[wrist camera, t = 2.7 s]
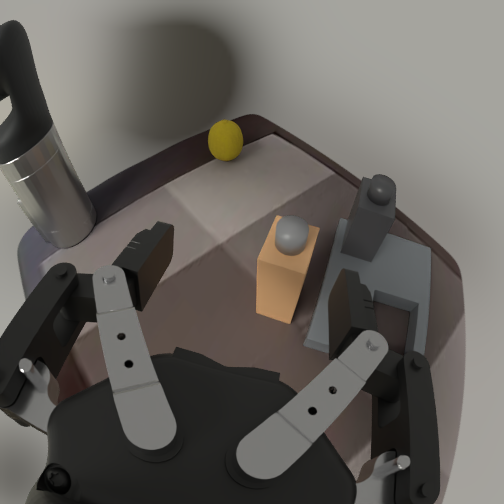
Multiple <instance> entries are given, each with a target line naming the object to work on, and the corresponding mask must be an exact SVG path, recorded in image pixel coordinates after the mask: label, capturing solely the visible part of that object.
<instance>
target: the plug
mask: <svg viewBox="0 0 504 504" xmlns="http://www.w3.org/2000/svg"><path fill="white" fill-rule="evenodd" d="M319 229H320V228H318V227H315V226H311V225H308V224H307V222H306V221H305V220H304V219H302V218H300V217H298V216H294V215H289V216H285V217H281V216H276V218H275V220H274V223H273V225H272V227H271V230H270V232H269V234H268V236H267V239H266V241H265V243H264V245H263V248H262V250H261V252H260V255H259V257H258V259H257V300H256V313H259V314H262V315H264V316H267V317H270V318H273V319H276V320H279V321H282V322H285V323H289V324H290V323H291V320H292V317H293V314H294V311H295V308H296V305H297V302H298V299H299V296H300V293H301V290H302V287H303V284H304V281H305V277H306V274H307V271H308V267H309V264H310V261H311V257H312V254H313V250H314V247H315V243H316V240H317V236H318V232H319Z"/></svg>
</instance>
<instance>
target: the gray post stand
mask: <svg viewBox="0 0 504 504" xmlns="http://www.w3.org/2000/svg"><path fill="white" fill-rule="evenodd" d="M395 203H396V185H395V183H394V181H393V180H392V179H390V178H389V177H387V176H385V175H380V174H379V175H375V176H373V178H372V179H368V178H365V177H363V179H362V181H361V184H360V187H359V190H358V193H357V196H356V199H355V202H354V205H353V208H352V210H351V213H350V216H349V219H348V220H346V219H343V218H340V221H339V223H338V226H337V229H336V233H335V237H334V241H333V245H332V249H331V253H330V257H329V260H328V264H327V268H326V271H325V275H324V278H323V282H322V285H321V289H320V292H319V296H318V299H317V303H316V306H315V309H314V312H313V316H312V319H311V322H310V325H309V328H308V332H307V335H306V338H305V341H304V344H303V346H306V347H309V348H312V349H316V350H319V351H322V352H326V353H329V324H328V299H329V295H330V292H331V290H332V288H333V286H334V284H335V282H336V280H337V277H338V275H339V273H340V271H341V270H342V269H343V268H345V269H349V270H353V271H357V272H358V273H359V277H360V283H361V284H365V285H366V286H367V288H368V289H369V291H370V292H371V296H372V301H376V302H380V303H383V304H386V305H389V306H393V307H396V308H399V309H402V310H406V311H409V312H410V317H409V325H408V332H407V339H406V345H405V351H404V355H405V354H406V353H407V352H409V351H417V352H419V353H421V354H422V355H423V356H424V352H425V345H426V336H427V327H428V315H429V301H430V280H431V248H429V247H426V246H424V245H421V244H418V243H415V242H412V241H409V240H407V239H404V238H401V237H398V236H395V235H392V234H389V233H388V231H389V229H390V227H391V225H392V224H393V222H394V220H395Z"/></svg>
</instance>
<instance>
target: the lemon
mask: <svg viewBox="0 0 504 504" xmlns="http://www.w3.org/2000/svg"><path fill="white" fill-rule="evenodd" d="M208 144H209V149H210V151H211V153H212V154H213V156H214V157H216V158H217V159H219V160H222V161H229V160H233V159H234V158H236V157H237V156H238V155H239V154H240V152H241V150H242V147H243V136H242V132H241V130H240V128H239V126H238V125H237V124H236V123H234V122H232V121H229V120H222V121H219V122H217V123H215V124H214V125H213V126H212V128H211V129H210V132H209V136H208Z"/></svg>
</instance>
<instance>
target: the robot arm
mask: <svg viewBox="0 0 504 504" xmlns="http://www.w3.org/2000/svg"><path fill="white" fill-rule="evenodd" d="M8 96H10V99H11V103H12V111H11V113H10V114H9V116H8V117H7V118H6V120H5V121H4V122H3V123H2V124H1V125H0V169H1V171H2V173H3V174H4V176H5V177H6V179H7V181H8V182H9V184H10V185H11V187H12V188H13V190H14V192H15V193H16V195H17V196H18V198H19V199H18V205H19V206H20V207H21V209H22V210H23V212H24V213H25V215H26V216H27V217H28V219H29V220H30V221H31V223H32V224H33V226H34V227H35V228H36V230H37V231H38V232H39V234H40V235H41V236H42V237H43V239H44V240H45V241H46V242H51V243H52V244H53V245H54V246H55V247H57V248H68V247H71V246H74V245H76V244H77V243H79V242H80V241H82V240H83V239H84V238H85V237H86V236H87V235H88V234H89V233H90V231H91V230H92V228H93V227H94V224H95V222H96V210H95V208H94V206H93V204H92V203H91V201H90V199H89V197H88V195H87V193H86V191H85V189H84V187H83V185H82V183H81V181H80V179H79V177H78V176H77V173H76V171H75V169H74V167H73V165H72V163H71V161H70V159H69V157H68V154H67V152H66V150H65V148H64V146H63V144H62V141H61V139H60V137H59V135H58V132H57V130H56V127H55V125H54V123H53V120H52V118H51V115H50V113H49V110H48V107H47V104H46V100H45V97H44V94H43V91H42V88H41V85H40V82H39V79H38V75H37V72H36V68H35V64H34V59H33V55H32V51H31V47H30V43H29V39H28V36H27V33H26V31H25V29H24V27H23V26H22V25H21V24H20V23H19V22H18V21H14V20H11V21H8V22H6V23H4V24H2V25H0V101H1V100H3V99H4V98H6V97H8ZM173 239H174V226H173V225H171V224H167V223H163V222H159V221H158V222H157V223H156V224H155V225H154V226H153V228H152V229H151V230H147V229H145V230H143V231H141V232H139V233H137V234H136V235H135V237H134V238H133V239H132V240H131V242H130V243H129V244H128V245H127V247H126V248H125V249H124V250H123V251H122V252H121V254H120V255H119V256H118V257H117V259H116V260H115V261H114V262H113V264H112V265H107V266H103V267H101V268H99V269H97V270H96V271H95V273H94V274H80V273H77V271H76V268H75V266H74V265H72V264H70V263H59V264H57V265H55V266H53V267H52V268H51V269H50V270H49V271H48V272H47V274H46V275H45V276H44V277H43V279H42V280H41V281H40V282H39V284H38V285H37V286H36V288H35V289H34V290H33V292H32V293H31V294H30V296H29V297H28V298H27V300H26V301H25V302H24V304H23V305H22V306H21V308H20V309H19V311H18V312H17V314H16V315H15V316H14V318H13V319H12V321H11V323H10V324H9V325H8V327H7V328H6V330H5V331H4V333H3V335H2V336H1V338H0V410H1V411H3V412H4V413H5V414H6V415H7V416H8V417H10V418H12V419H13V420H15V421H16V422H17V423H18V424H20V425H21V426H24V427H28V426H31V427H33V428H35V429H36V430H38V431H40V432H42V433H44V434H46V435H47V436H48V458H47V463H46V467H45V469H44V471H43V473H42V474H41V476H40V477H39V479H38V480H37V482H36V483H35V485H34V486H33V488H32V489H31V491H30V493H29V495H28V497H27V500H26V503H25V504H433V503H434V502H435V501H436V500H437V498H438V496H439V492H440V457H439V439H438V427H437V416H436V408H435V399H434V392H433V385H432V379H431V373H430V367H429V363H428V361H427V359H426V358H425V357H424V356H423V355H422V354H421V353H419V352H417V351H409V352H407V353H406V354H405V355H404V356H402V355H400V354H398V353H396V352H394V351H392V350H390V349H389V348H388V344H387V341H386V340H385V338H384V337H383V336H382V335H381V334H379V333H378V329H377V323H376V317H375V312H374V310H373V309H374V306H373V303H372V302H373V301H372V296H371V292H370V291H369V289H368V288H367V286H366V285H365V284H361V283H360V277H359V273H358V272H357V271H353V270H349V269H345V268H343V269H342V270H341V271H340V273H339V275H338V277H337V280H336V282H335V284H334V286H333V288H332V290H331V292H330V295H329V299H328V324H329V360H333V361H332V362H331V363H330V364H329V365H328V366H327V367H326V368H325V369H324V370H323V371H322V372H321V373H320V374H319V375H318V376H317V377H316V378H315V379H314V380H313V381H311V382H310V383H309V384H308V385H307V386H306V387H305V388H304V389H303V390H302V391H301V392H300V393H297V392H296V391H294V390H293V389H292V388H291V387H290V386H288V385H287V384H285V383H283V382H281V381H279V376H280V373H277V372H273V371H268V370H263V369H259V368H249V367H226V366H223V365H221V364H219V363H217V362H215V361H213V360H212V359H210V358H208V357H206V356H204V355H202V354H199V353H196V352H192V351H189V350H186V349H182V348H179V347H176V348H175V351H174V353H173V354H171V353H167V354H157V355H153V356H150V355H149V352H148V349H147V346H146V343H145V340H144V337H143V334H142V330H141V327H140V324H139V321H138V317H137V314H136V310H138V311H141V312H142V311H143V309H144V307H145V305H146V304H147V302H148V300H149V298H150V297H151V295H152V293H153V291H154V290H155V288H156V286H157V284H158V283H159V281H160V279H161V278H162V276H163V274H164V272H165V271H166V269H167V267H168V266H169V264H170V262H171V259H172V255H173ZM86 322H98V328H99V333H100V339H101V344H102V349H103V353H104V358H105V362H106V367H107V371H108V375H109V378H107V379H105V380H103V381H101V382H99V383H97V384H95V385H93V386H91V387H89V388H87V389H85V390H83V391H81V392H79V393H77V394H75V395H73V396H71V397H69V398H67V399H65V400H63V401H61V402H60V403H59V404H57V400H58V395H59V385H58V382H57V381H56V378H57V376H58V374H59V372H60V370H61V368H62V366H63V364H64V362H65V360H66V358H67V356H68V354H69V352H70V350H71V349H72V347H73V345H74V343H75V341H76V339H77V337H78V336H79V334H80V332H81V330H82V328H83V327H84V325H85V323H86ZM360 390H363V391H365V392H367V393H370V394H372V440H371V460H369V461H367V462H366V463H365V464H364V465H363V466H362V468H361V470H360V474H359V477H358V479H357V481H355V478H354V476H353V474H352V473H351V471H350V470H349V468H348V467H347V465H346V464H345V462H344V461H343V460H342V458H341V457H340V455H339V454H338V452H337V451H336V449H335V448H334V446H333V445H332V443H331V442H330V440H329V439H328V437H327V436H326V434H325V433H324V431H325V430H326V429H327V428H328V427H329V426H330V425H331V423H332V422H333V421H334V420H335V419H336V418H337V417H338V416H339V415H340V413H341V412H342V411H343V410H344V409H345V408H346V406H347V405H348V404H349V403H350V402H351V401H352V399H353V398H354V397H355V396H356V395H357V393H358V392H359V391H360Z"/></svg>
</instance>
